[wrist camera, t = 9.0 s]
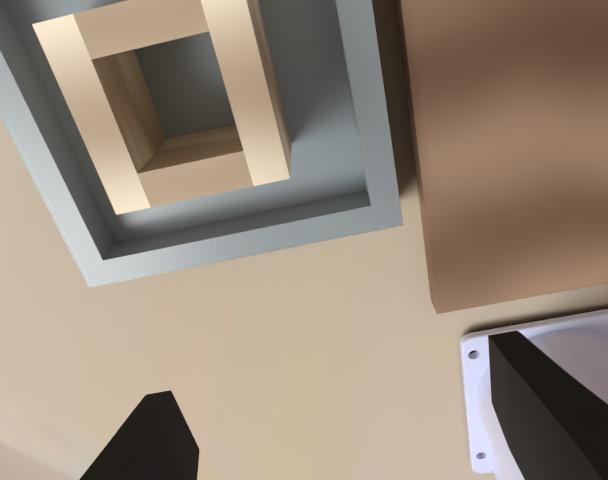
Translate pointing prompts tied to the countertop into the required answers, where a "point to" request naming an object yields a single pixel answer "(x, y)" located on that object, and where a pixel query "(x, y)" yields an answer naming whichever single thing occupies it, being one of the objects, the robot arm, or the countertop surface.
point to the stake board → (509, 144)
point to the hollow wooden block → (141, 110)
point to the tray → (205, 116)
